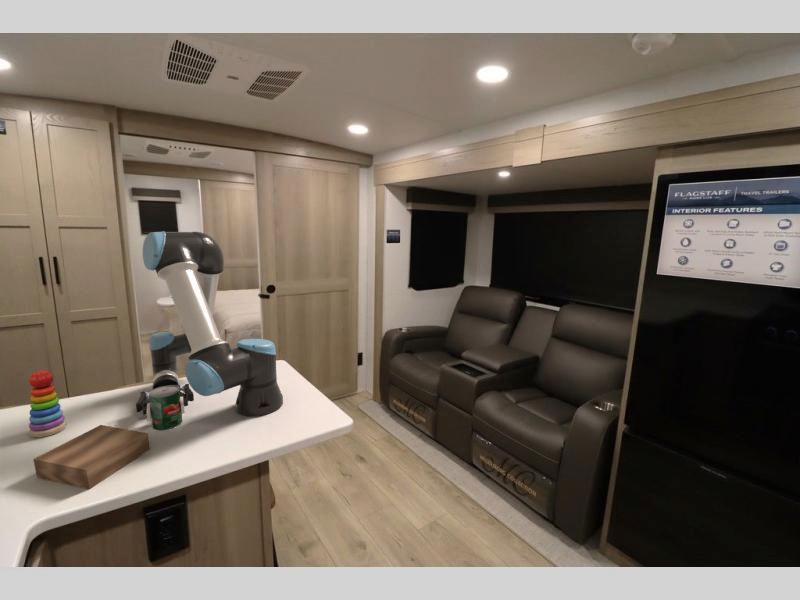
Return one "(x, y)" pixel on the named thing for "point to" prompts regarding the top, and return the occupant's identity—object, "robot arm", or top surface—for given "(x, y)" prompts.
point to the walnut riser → (92, 456)
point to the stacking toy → (44, 406)
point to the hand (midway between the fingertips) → (166, 412)
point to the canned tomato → (165, 408)
